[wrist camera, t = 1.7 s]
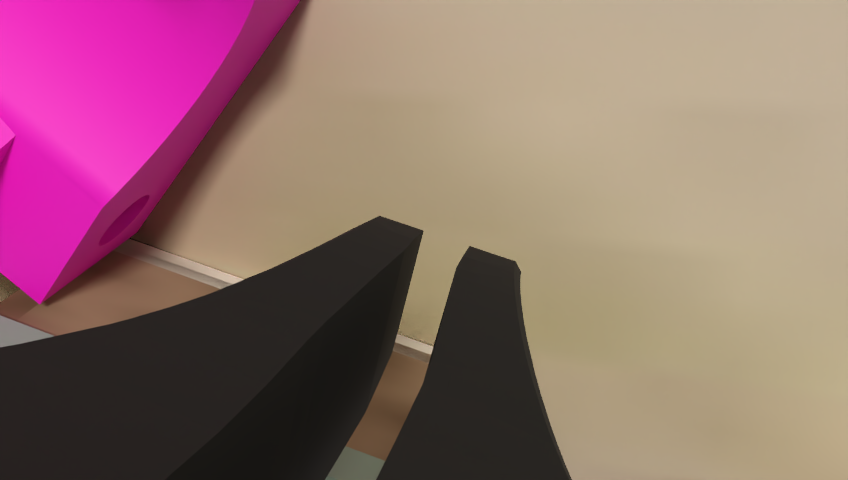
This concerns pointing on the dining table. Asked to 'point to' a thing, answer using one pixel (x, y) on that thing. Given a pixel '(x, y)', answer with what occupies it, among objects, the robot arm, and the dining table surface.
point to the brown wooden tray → (186, 280)
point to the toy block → (108, 117)
